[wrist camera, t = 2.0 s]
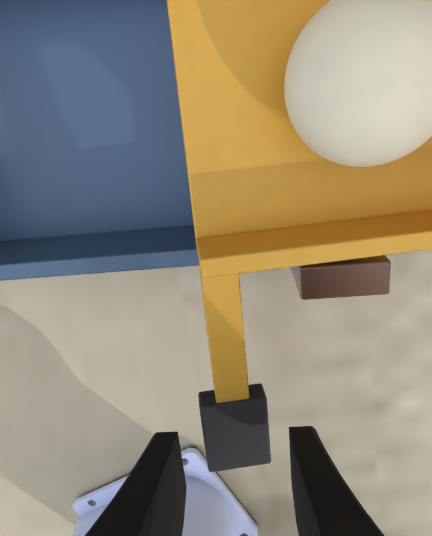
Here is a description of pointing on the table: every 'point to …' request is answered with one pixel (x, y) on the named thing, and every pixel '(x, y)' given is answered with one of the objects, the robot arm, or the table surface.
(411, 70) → the ball cream
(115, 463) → the table surface
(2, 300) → the table surface
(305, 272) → the dish stand
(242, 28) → the yellow tray
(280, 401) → the table surface
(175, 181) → the bin
